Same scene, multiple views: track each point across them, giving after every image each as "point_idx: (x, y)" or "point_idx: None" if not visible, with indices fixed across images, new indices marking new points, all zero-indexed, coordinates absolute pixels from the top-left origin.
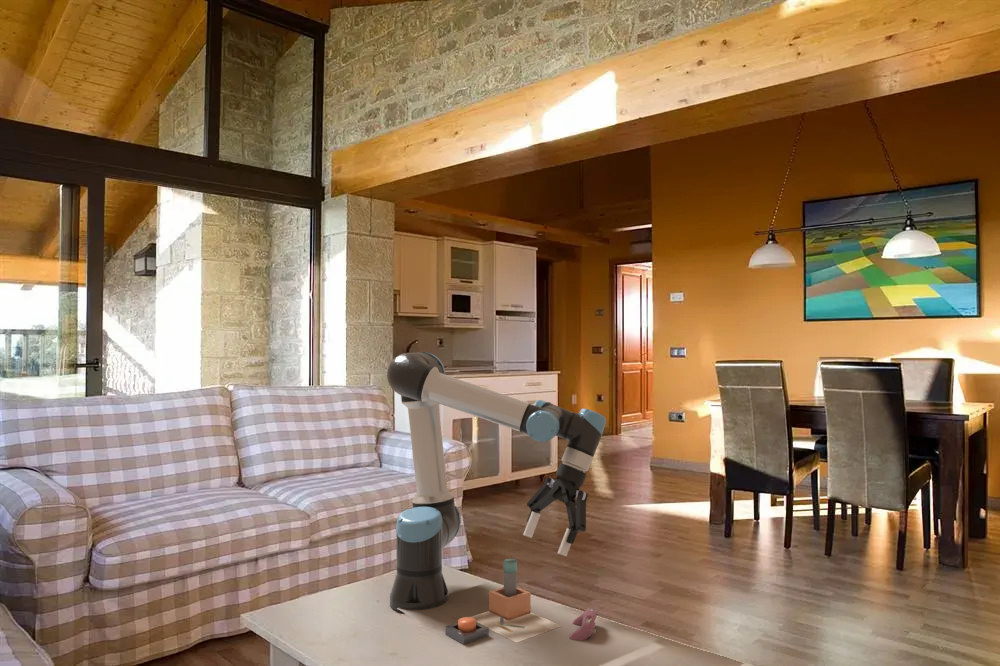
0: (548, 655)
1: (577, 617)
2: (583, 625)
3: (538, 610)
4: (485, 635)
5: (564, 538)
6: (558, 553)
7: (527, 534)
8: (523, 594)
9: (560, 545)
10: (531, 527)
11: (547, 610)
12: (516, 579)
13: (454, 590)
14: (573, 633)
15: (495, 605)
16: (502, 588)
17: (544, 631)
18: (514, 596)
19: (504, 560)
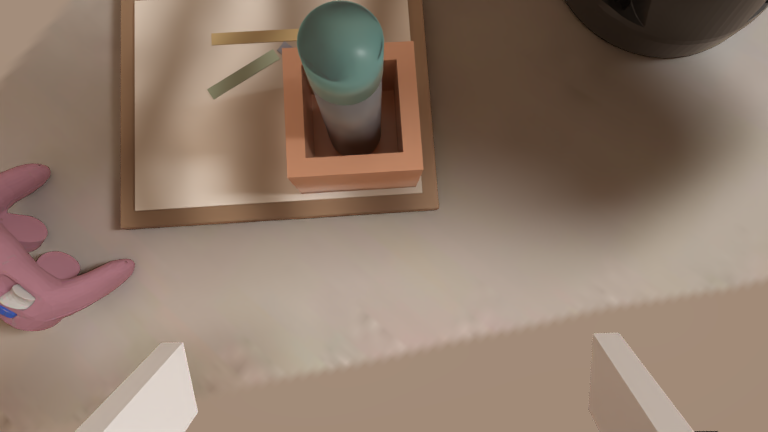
0: (37, 59)
1: (99, 274)
2: None
3: (345, 268)
4: None
5: (89, 429)
6: (171, 343)
7: (598, 366)
8: (287, 137)
9: (148, 380)
10: (625, 428)
11: (324, 297)
12: (320, 106)
13: (705, 125)
14: (13, 168)
15: None
16: (405, 106)
17: (140, 130)
18: (293, 91)
19: (364, 13)
